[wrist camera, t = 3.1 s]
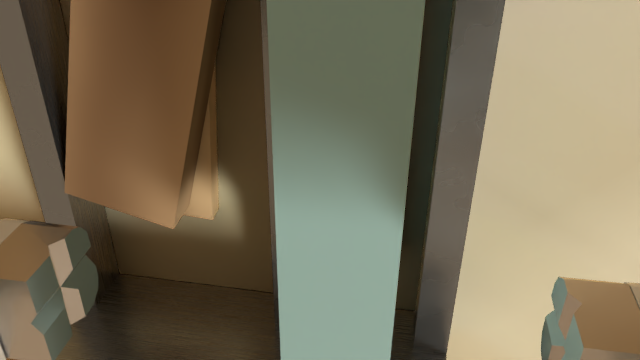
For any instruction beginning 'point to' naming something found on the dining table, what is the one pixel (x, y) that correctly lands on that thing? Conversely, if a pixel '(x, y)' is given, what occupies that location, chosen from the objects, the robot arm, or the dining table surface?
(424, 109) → the dining table surface
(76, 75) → the offcut walnut
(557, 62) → the dining table surface
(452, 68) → the offcut rack
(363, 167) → the teal sheet
